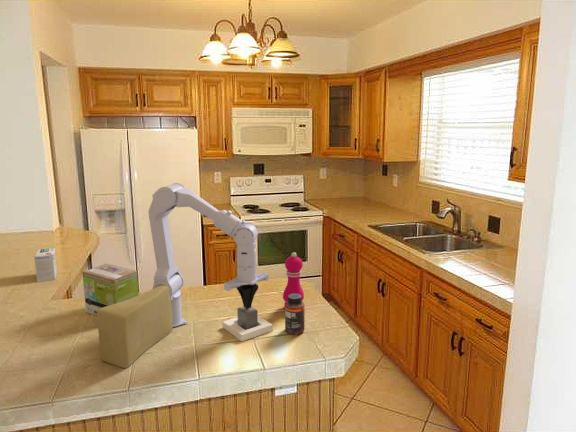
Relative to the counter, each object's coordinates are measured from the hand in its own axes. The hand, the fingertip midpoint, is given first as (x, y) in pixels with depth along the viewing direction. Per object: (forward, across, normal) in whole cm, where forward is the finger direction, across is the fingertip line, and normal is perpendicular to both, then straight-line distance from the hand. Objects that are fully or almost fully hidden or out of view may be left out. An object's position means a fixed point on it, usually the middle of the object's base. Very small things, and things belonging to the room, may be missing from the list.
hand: (247, 307), depth 129 cm
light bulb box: (+7, -40, +89) cm, 98 cm away
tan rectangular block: (+8, -29, +9) cm, 31 cm away
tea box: (+8, -29, +38) cm, 48 cm away
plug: (+7, 0, 0) cm, 7 cm away
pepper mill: (+8, +21, +4) cm, 23 cm away
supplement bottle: (+8, +11, -10) cm, 16 cm away
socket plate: (+7, 0, 0) cm, 7 cm away
